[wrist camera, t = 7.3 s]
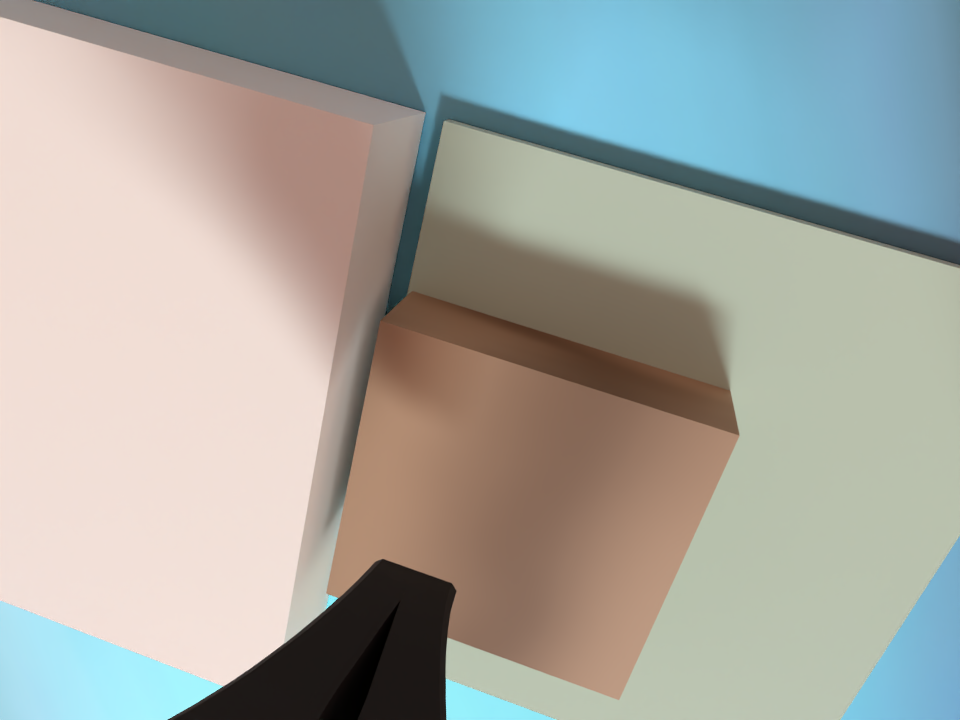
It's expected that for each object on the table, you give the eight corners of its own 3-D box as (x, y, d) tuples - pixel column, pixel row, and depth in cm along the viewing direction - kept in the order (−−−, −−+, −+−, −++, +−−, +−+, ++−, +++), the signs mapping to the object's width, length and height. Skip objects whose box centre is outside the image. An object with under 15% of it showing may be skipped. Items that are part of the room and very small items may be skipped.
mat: (340, 626, 21) (334, 637, 20) (449, 119, 15) (443, 120, 15) (783, 790, 19) (785, 804, 19) (1092, 303, 14) (1105, 309, 13)
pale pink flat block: (9, 504, 22) (-83, 568, 19) (-10, -12, 16) (-146, -26, 13) (323, 620, 21) (273, 705, 18) (425, 112, 15) (373, 124, 12)
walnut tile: (357, 542, 19) (325, 593, 17) (411, 290, 16) (380, 320, 14) (623, 636, 18) (618, 700, 16) (730, 391, 15) (739, 435, 13)
